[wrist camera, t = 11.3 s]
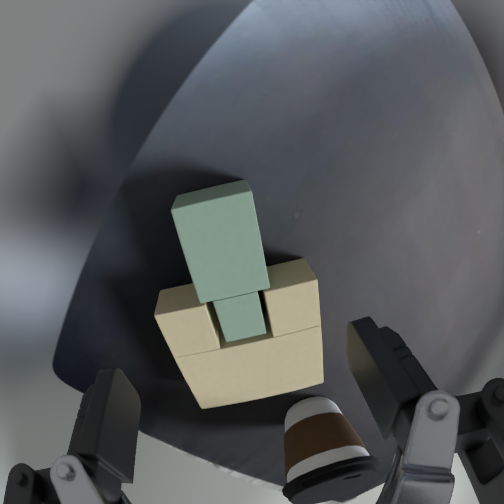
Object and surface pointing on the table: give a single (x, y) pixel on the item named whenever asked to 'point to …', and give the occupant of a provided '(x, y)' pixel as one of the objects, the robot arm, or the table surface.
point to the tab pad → (224, 254)
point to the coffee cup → (323, 453)
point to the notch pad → (247, 340)
